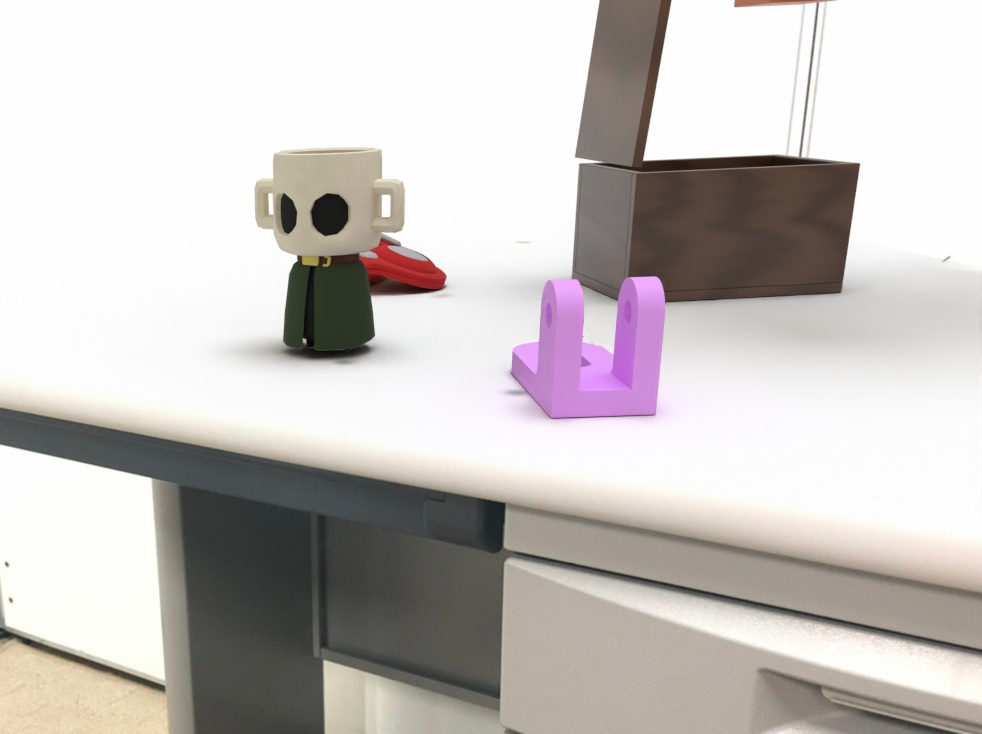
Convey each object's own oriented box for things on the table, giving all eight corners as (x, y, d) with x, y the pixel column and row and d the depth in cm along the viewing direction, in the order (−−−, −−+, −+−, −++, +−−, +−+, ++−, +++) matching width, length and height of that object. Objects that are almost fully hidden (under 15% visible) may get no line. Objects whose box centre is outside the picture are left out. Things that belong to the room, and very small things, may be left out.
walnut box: (763, 269, 106) (777, 154, 103) (841, 292, 95) (860, 163, 91) (571, 279, 105) (578, 163, 102) (626, 304, 94) (636, 173, 90)
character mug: (234, 354, 82) (226, 154, 77) (283, 334, 87) (279, 147, 83) (380, 366, 77) (382, 153, 72) (422, 345, 82) (426, 146, 77)
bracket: (655, 414, 64) (668, 282, 61) (550, 417, 64) (558, 286, 61) (591, 361, 76) (599, 249, 73) (503, 364, 76) (508, 252, 73)
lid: (622, -86, 95) (554, -92, 94) (691, -110, 83) (614, -118, 83) (583, 158, 102) (519, 153, 101) (642, 167, 90) (570, 162, 89)
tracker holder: (473, 273, 103) (381, 256, 98) (454, 321, 105) (363, 307, 100) (399, 228, 112) (311, 210, 107) (383, 273, 114) (296, 258, 109)
